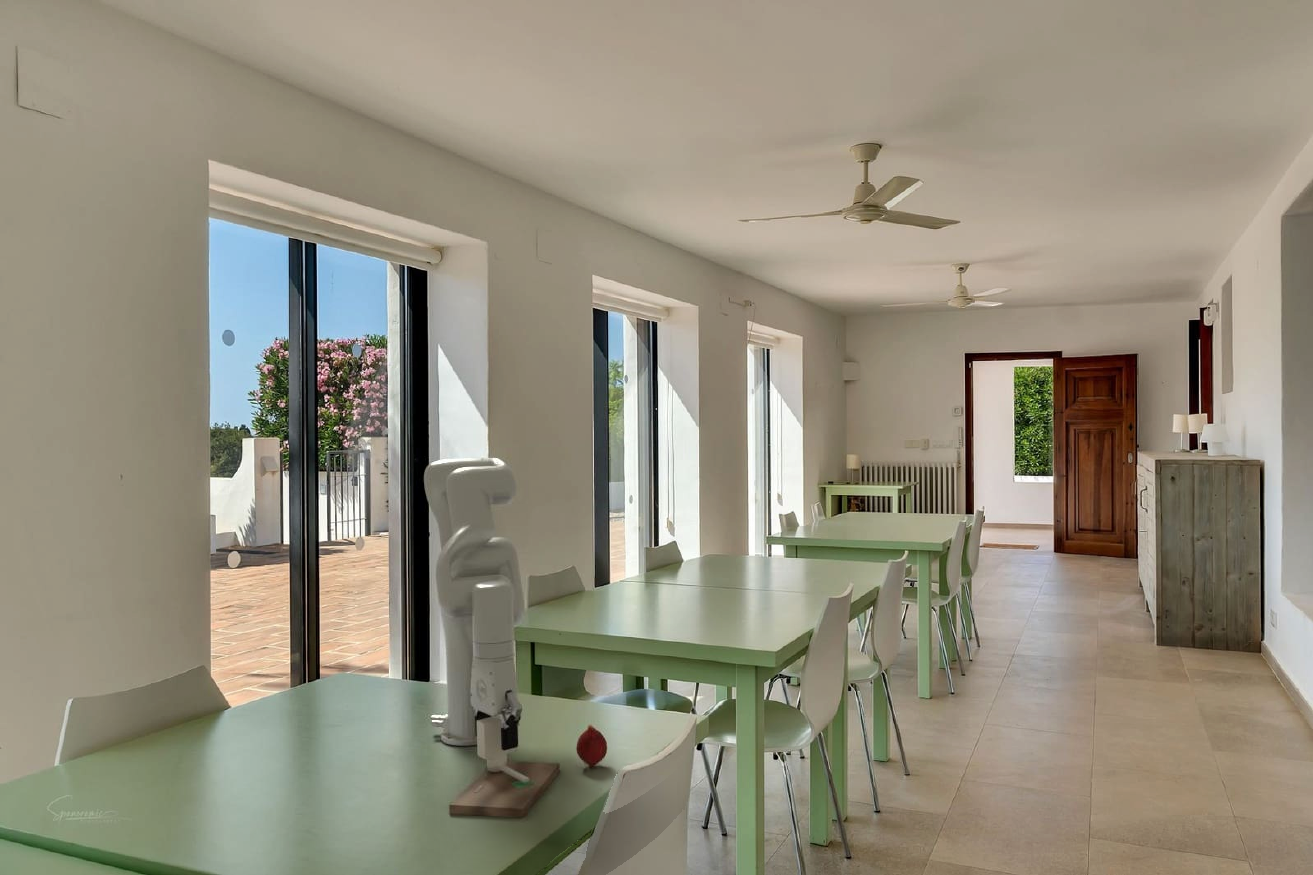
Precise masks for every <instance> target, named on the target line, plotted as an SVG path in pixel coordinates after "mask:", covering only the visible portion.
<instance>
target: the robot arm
mask: <svg viewBox="0 0 1313 875" xmlns="http://www.w3.org/2000/svg"><path fill="white" fill-rule="evenodd" d="M423 483H424V491H425V495H426V500H427V502H428V505H429V507H430V509H431V511H432V514H433V516H434V519H435V520H436V522H437V525H438V526H437V527H438V531H439V532H438V534H439V543H440V553H439V555H438V557H437V559H436V560H437V561H436V565H435V584H436V590H437V598H438V604H439V608H440V616H441V621H442V627H443V628H442V629H443V633H444V643H445V660H446V662H445V663H446V664H445V666H446V695H447V696H446V697H447V699H446V700H447V701H446V702H447V714H445V715H441V714H433V715H431V717H430V723H431V727H432V728H442V729H443V730H442V731H441V733H440V740H441V742H443V744H447V745H451V746H458V747H459V746H460V747H461V746H462V747H465V746H468V747H469V746H477V720H481V719H486V718H490V717H496V716H498V715H499V717H500V720H501V723H502V725H503V728H501V749H502V750H504V751H505V750H508V749H512V748H516V749H517V748H518V747H519V726H520V721H521V718H522V716H521V714H522V713H523V712H522V711H523V706H522V704H521V703H520V701H519V700H518V698H519V697H518V696H519V695H518V684H517V683H518V682H517V673H516V670H517V669H516V665H515V656H516V654H515V653H516V651H515V628H516V627H518V626H520V625H521V624H522V623H523V621H524V618H525V613H526V612H525V610H526V608H525V606H526V605H525V598H524V592H523V591H524V590H523V584H522V579H521V573H520V571H521V570H520V566H519V558H518V553H517V549H516V547H515V544H514V543H513V542H512V540H510V539H509V538H506V537H503V536H502V537H501V536H495V535H496V524H495V520H494V514H493V509H492V507H495V506H496V507H497V506H508V505H511V504H512V503H514V501H515V499H516V497H517V492H518V491H517V489H518V488H517V481H516V477H515V474H514V472H513V470H512V469H511V467H510V466H509V465H508V464H507V463H506V462H504V461H503V460H502V459H500V458H497V457H479V458H478V457H475V458H474V457H473V458H448V459H441V460H437V461H432V462H431V463H430V464H428V465H427V466H426V468H425V470H424V474H423ZM509 714H510V716H509V718H508V719H506V716H505V715H509Z"/></svg>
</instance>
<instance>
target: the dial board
mask: <svg viewBox="0 0 1313 875" xmlns="http://www.w3.org/2000/svg"><path fill="white" fill-rule="evenodd" d="M560 763H561V762H560ZM560 763H559V762H546V761H545V762H541V761H540V762H539V761H538V762H537V761H520V760H519V761H518V760H507V767H509V768H511V769H513V770H515V771H516V772H518V773H520V774H522V775H524V776H526V777H528V778H529V781H528V782H522V781H521V780H519V779H517V778H515V777H513V776H511V775H509V774H508V773H506V772H504V771H500V772H490V771H488V770H487V767H486V768H485V769H483V771H481V773H479V775H478V776H476V777H475V779H474V780H472V781H471V782H470V783H469V784H468V785H467V786H466V787H465V788H464V789H463V790H462V792H460V794H458V795H457V796H456V797H455V798H454V799H453V800H452V802H450V804H448V805H449V806H448V808H449V809H448V810H449V814H450V815H466V816H468V815H469V816H485V817H487V816H488V817H504V818H519V819H520V818H525V817H526V816H527V814H528V812H529V811H530V810H531V809H532V807H533V806H534V805H535V803H537V801H538V800H539V798H540V797H541V796H542V795H543V794H544V792H545V791H546V789H547V788H548V787H549V786H550V785H551V784H552V782H553V780H554V779H555V778H556V777H557V775H558V774H559V773H560V771H561V764H560Z"/></svg>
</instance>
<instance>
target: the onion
mask: <svg viewBox="0 0 1313 875" xmlns="http://www.w3.org/2000/svg"><path fill="white" fill-rule="evenodd" d="M587 725H588V726H587V729H586V730H585V731H584V732H582V733H581V735H579V737H578V739H577V741H576V748H575V749H576V753H577V756H578V757H579V759H580V760H581V761H583V763H584V764H586V765H587V766H589V767H590V768H592V767H595V766H596V765H598V764H599V763H600V762H601V761H602V760H603V759H604V758H605V757H606V755H607V753H608V743H607V740H606V738H605V736H604V735H603V733H602V732H601V731H599V730H598V729H596V728H595V727H594V726H593V725H592V724H591V723H589V724H587Z"/></svg>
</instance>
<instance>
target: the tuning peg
mask: <svg viewBox="0 0 1313 875" xmlns="http://www.w3.org/2000/svg"><path fill="white" fill-rule="evenodd" d="M505 716H506V719H508V718H509V716H510V714H509V715H505ZM501 728H503V725H502V723H501V720H500V717H499V715H498V716H496V717H490V718H486V719H481V720H477V745H476V746H477V747H476V748H477V756H478V757H480V758H481V759H484V760H486V768H487V770H488V771H490V772H500V771H504V772H506V773H508V774H509V775H511V776H513V777H515V778H517V779H519V780H521V781H522V782H528V781H529V778H528V777H526V776H524V775H522V774H520V773H518V772H516V771H515V770H513V769H511V768H509V767H507V761H508V755H507V754H509V753H513V752H516V751H517V747H516V748H512V749H508V750H505V751H504V750H502V749H501Z"/></svg>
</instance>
